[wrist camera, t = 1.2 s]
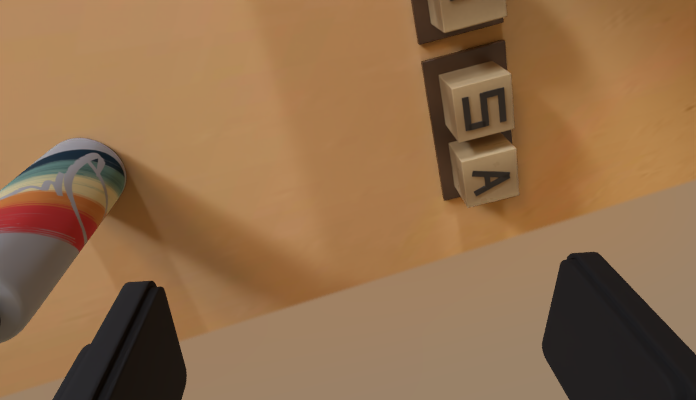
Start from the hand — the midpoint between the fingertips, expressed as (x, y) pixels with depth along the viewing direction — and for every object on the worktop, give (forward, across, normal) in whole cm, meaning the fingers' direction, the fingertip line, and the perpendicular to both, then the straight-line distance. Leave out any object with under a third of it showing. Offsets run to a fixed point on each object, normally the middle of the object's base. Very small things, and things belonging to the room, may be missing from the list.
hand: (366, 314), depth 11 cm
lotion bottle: (+26, +19, +7) cm, 32 cm away
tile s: (+25, -10, +2) cm, 27 cm away
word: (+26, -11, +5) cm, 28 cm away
